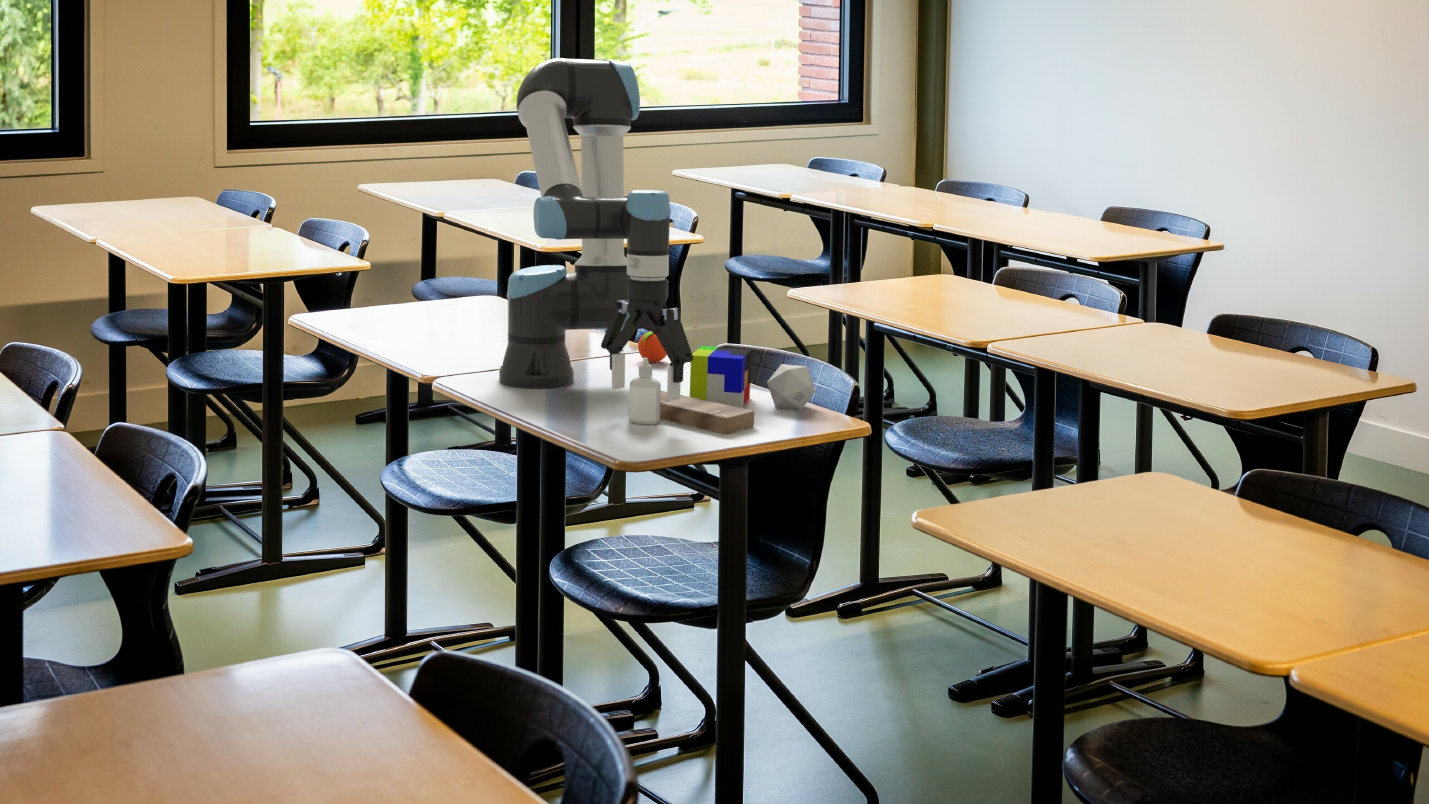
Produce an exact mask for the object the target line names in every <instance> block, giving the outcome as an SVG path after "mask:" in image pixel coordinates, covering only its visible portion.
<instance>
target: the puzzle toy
mask: <svg viewBox="0 0 1429 804" xmlns="http://www.w3.org/2000/svg"><path fill="white" fill-rule="evenodd" d="M692 355H693V361H690V371H689V372H690V374H689V375H690V376H689V378H690V379H689V397H693V398H697V399H702V400H706V401H711V402H716V403H720V404H725V405H730V406H734V407H739V408H743V407H744V406H745V405H746V404H747V403H748V401H749V400H750V398H751V397H750V396H751V394H750V393H751V370H752V349H750V348H737V347H735V348H733V347H723V346H722V347H720V346H707V345H706V346H705V345H702V346H699V348H698V349H697V350H695V351H694V352H692Z"/></svg>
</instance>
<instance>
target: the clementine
mask: <svg viewBox="0 0 1429 804" xmlns="http://www.w3.org/2000/svg"><path fill="white" fill-rule="evenodd" d="M637 343H638V344H637V350H638V352H639V353H638V354H639V355H640V356H641V358H642V359H643V360H644V358H648V363H658V362H662V360H665V358H666V357H667V354H666V352H665V350H664V349H663V347H662V345H661V343H660V341H659V340H658V338H657V336H656V335H655V334H653V332H652V331H647V332H646V333H644V334H642V336H640V338H639V341H638V342H637Z"/></svg>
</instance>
